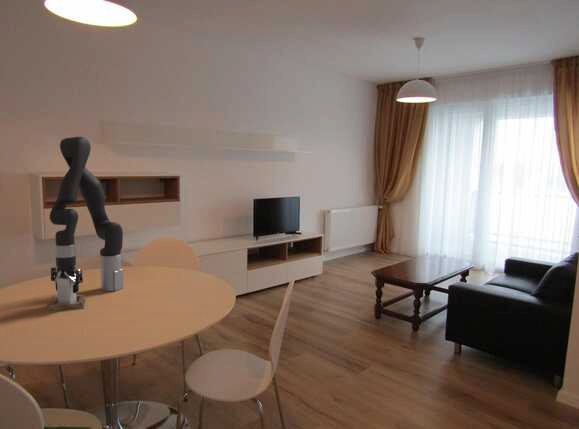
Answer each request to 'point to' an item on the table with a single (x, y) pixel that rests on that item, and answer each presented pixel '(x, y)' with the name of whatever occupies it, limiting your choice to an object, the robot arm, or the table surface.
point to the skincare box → (65, 291)
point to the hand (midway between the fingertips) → (67, 291)
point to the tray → (68, 306)
